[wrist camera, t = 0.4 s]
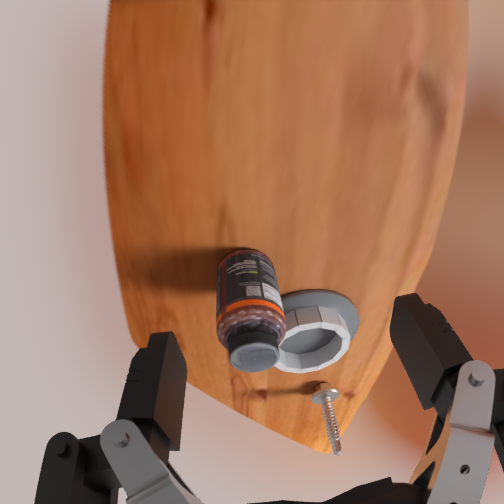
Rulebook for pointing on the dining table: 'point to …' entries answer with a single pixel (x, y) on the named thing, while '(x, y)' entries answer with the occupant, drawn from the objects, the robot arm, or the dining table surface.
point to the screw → (328, 412)
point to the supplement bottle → (249, 310)
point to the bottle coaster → (316, 329)
